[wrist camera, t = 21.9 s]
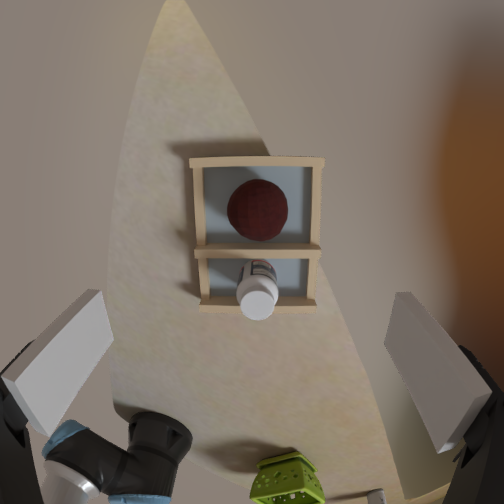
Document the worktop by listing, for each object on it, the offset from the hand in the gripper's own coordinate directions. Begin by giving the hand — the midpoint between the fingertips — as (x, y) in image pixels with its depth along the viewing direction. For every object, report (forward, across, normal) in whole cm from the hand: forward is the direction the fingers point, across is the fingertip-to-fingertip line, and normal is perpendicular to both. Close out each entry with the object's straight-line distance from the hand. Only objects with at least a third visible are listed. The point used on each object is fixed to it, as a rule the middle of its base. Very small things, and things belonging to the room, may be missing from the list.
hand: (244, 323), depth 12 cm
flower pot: (+29, +8, -63) cm, 70 cm away
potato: (+28, 0, 0) cm, 28 cm away
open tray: (+29, 0, -4) cm, 29 cm away
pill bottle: (+28, 0, -10) cm, 30 cm away
